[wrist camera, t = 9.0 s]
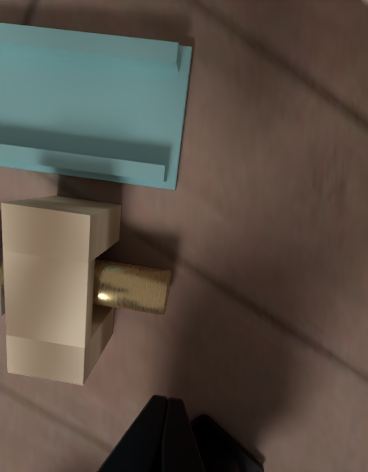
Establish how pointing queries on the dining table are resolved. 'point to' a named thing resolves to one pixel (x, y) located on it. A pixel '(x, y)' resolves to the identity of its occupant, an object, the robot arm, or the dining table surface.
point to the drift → (128, 286)
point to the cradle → (92, 104)
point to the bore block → (55, 285)
